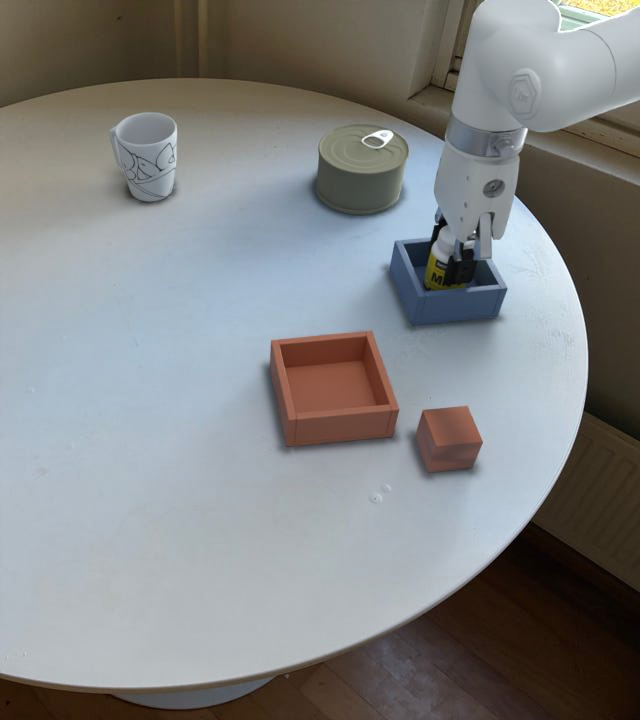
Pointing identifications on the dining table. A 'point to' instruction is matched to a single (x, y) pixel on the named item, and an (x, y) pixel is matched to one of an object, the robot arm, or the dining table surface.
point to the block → (448, 439)
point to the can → (361, 168)
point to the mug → (146, 154)
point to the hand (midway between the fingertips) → (449, 265)
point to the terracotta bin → (332, 388)
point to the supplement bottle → (442, 261)
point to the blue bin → (443, 304)
